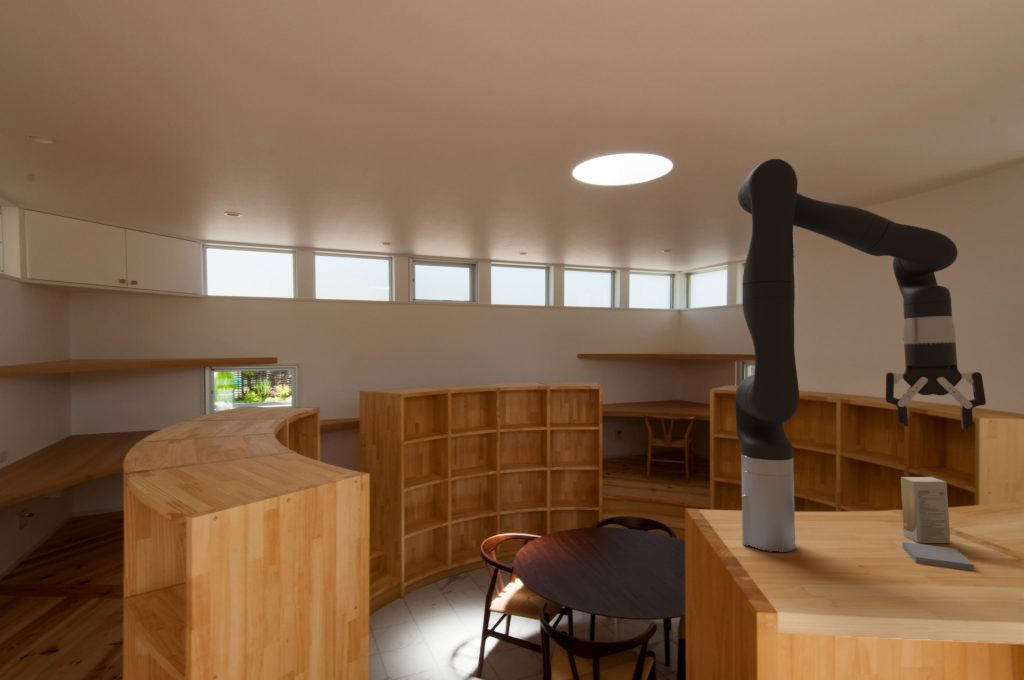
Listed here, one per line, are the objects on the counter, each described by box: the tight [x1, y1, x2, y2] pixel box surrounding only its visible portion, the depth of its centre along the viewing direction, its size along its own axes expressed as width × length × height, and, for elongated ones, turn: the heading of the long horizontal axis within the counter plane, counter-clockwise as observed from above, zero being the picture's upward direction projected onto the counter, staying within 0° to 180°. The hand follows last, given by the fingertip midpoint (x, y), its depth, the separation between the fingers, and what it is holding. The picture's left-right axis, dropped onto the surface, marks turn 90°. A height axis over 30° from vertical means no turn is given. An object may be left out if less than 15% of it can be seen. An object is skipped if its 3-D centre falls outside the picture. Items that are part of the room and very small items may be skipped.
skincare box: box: [900, 476, 951, 544], centre depth 100 cm, size 6×4×12 cm
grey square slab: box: [901, 541, 975, 571], centre depth 90 cm, size 8×8×1 cm
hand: (934, 427), depth 93 cm, fingers open, 8 cm apart
